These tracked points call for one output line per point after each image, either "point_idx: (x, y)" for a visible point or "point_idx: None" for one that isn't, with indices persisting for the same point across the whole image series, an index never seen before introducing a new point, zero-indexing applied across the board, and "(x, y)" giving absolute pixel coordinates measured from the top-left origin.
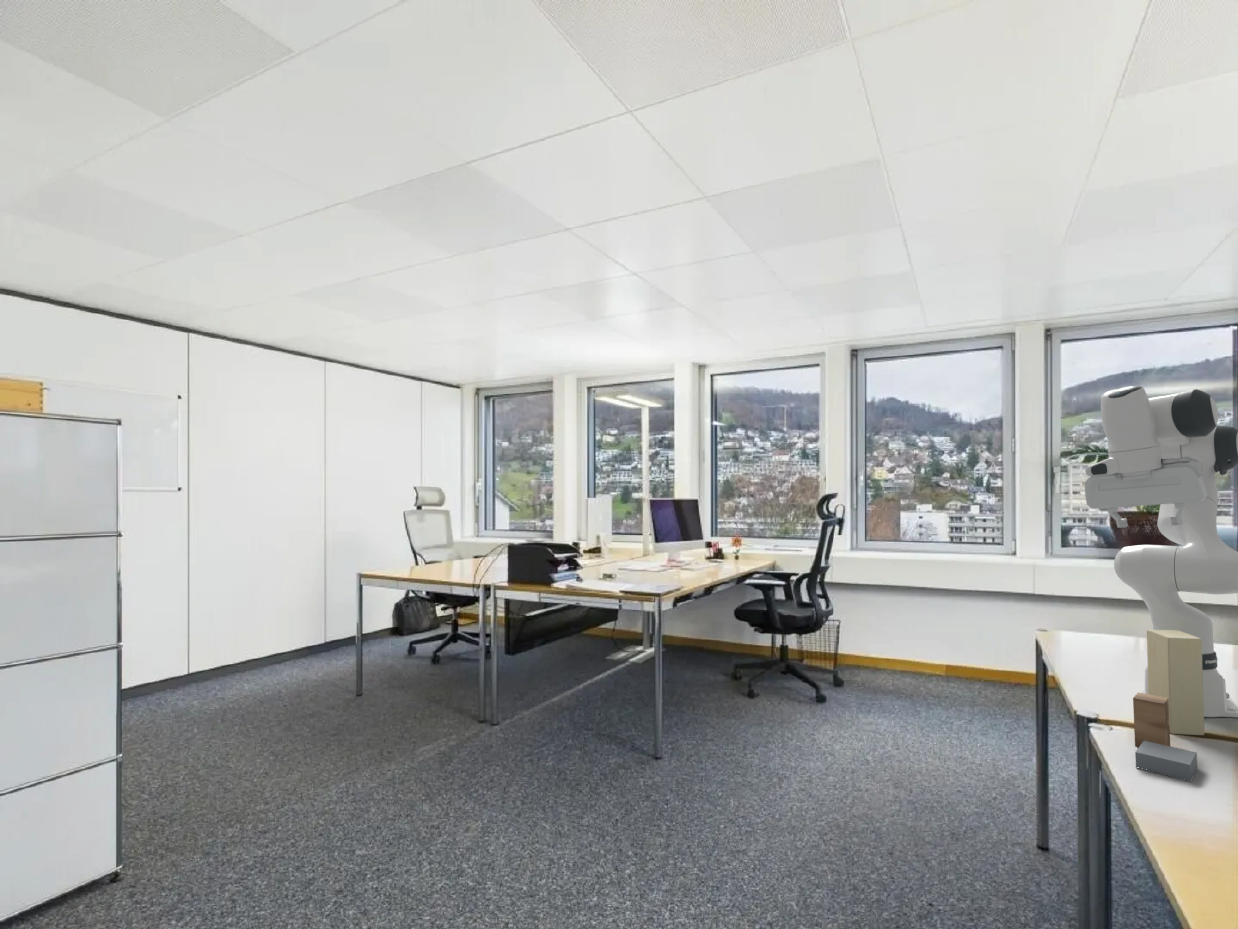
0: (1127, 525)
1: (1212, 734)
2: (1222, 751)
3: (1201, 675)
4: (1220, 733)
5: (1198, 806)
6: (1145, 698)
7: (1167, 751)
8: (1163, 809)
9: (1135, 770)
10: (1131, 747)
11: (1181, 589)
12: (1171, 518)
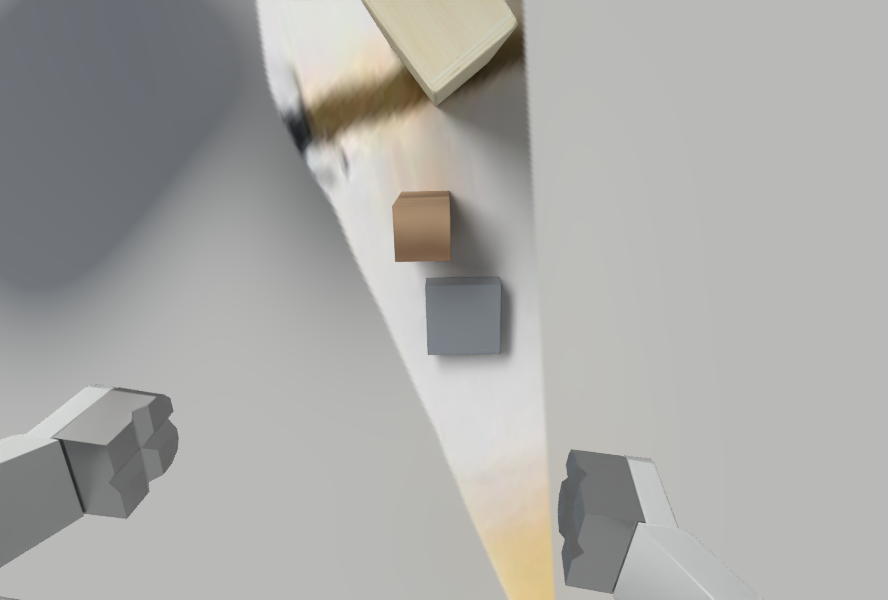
0: (165, 404)
1: None
2: (522, 147)
3: (500, 46)
4: None
5: (514, 422)
6: (415, 247)
7: (464, 315)
8: (483, 460)
9: None
10: None
11: None
12: (573, 573)
